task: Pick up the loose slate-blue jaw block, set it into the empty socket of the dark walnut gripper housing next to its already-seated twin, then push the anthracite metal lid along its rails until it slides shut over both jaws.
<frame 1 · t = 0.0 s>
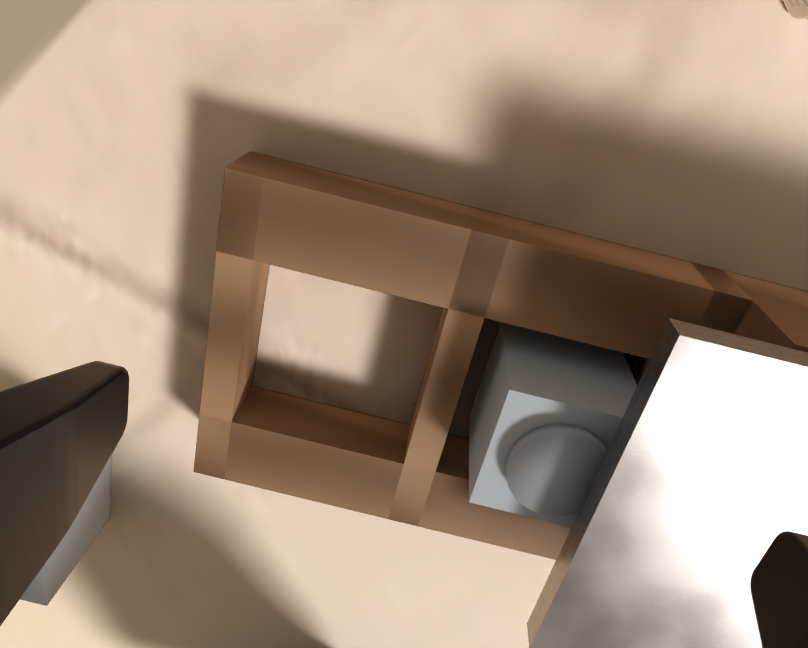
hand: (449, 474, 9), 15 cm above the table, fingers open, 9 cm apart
housing: (444, 360, 25), on the table
loose jaw: (62, 467, 29), on the table
seated jaw: (541, 383, 25), resting in housing
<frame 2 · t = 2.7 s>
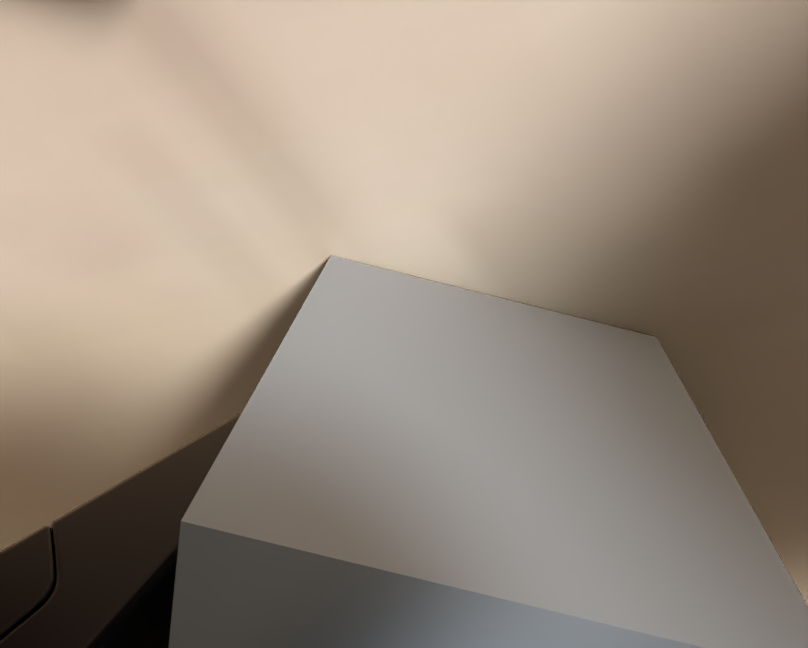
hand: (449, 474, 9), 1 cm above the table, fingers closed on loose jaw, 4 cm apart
loose jaw: (451, 430, 10), on the table, touching gripper
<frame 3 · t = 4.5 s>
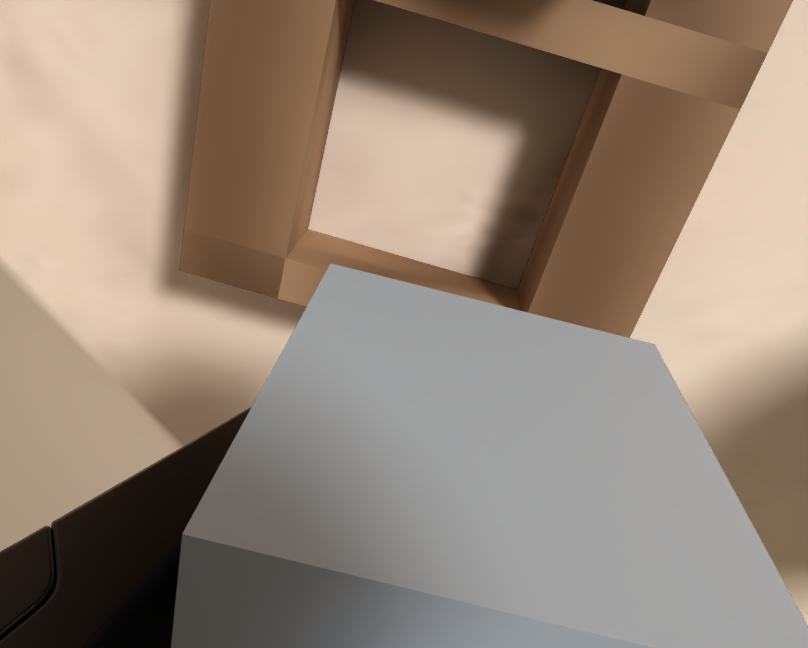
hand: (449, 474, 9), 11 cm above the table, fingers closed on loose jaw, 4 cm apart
housing: (487, 3, 16), on the table
loose jaw: (450, 436, 10), point 10 cm above the table, touching gripper
when the fingers open (3 cm above the table, at t = 6.2 s): loose jaw drops 3 cm, resting in housing.
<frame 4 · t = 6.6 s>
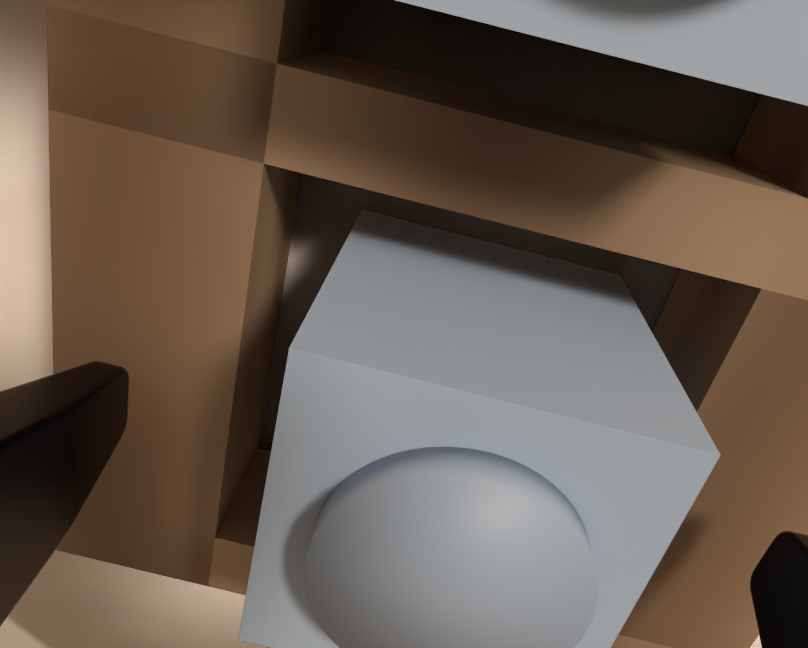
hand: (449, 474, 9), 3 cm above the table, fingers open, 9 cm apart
housing: (516, 142, 10), on the table
loose jaw: (456, 353, 12), resting in housing
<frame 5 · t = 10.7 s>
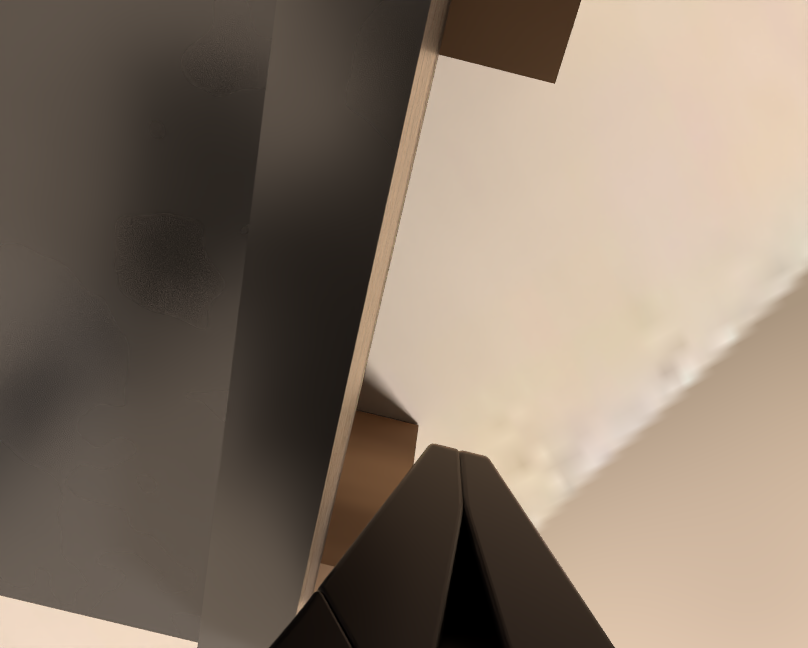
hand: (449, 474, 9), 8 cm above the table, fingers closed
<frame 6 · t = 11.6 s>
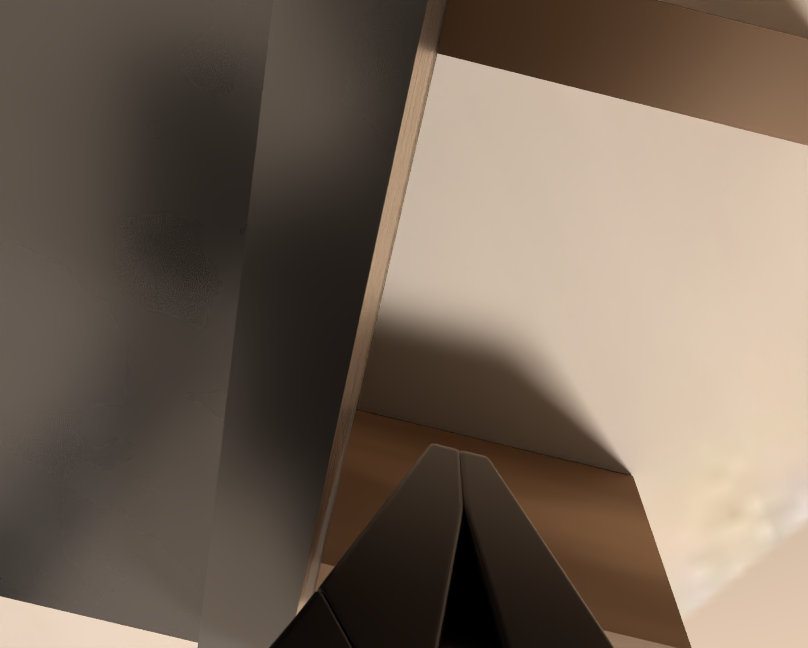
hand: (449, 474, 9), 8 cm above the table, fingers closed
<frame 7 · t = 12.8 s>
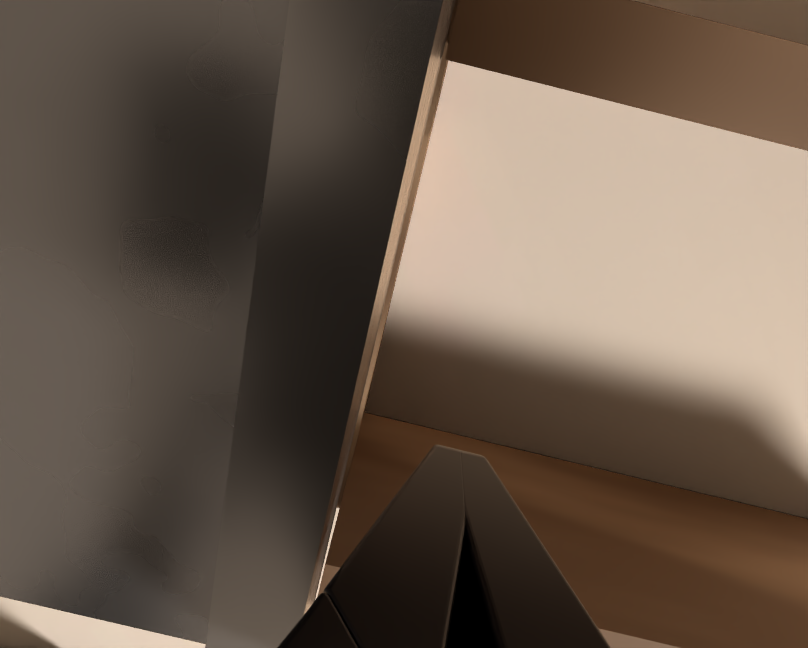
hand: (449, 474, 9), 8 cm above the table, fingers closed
housing: (63, 168, 16), on the table
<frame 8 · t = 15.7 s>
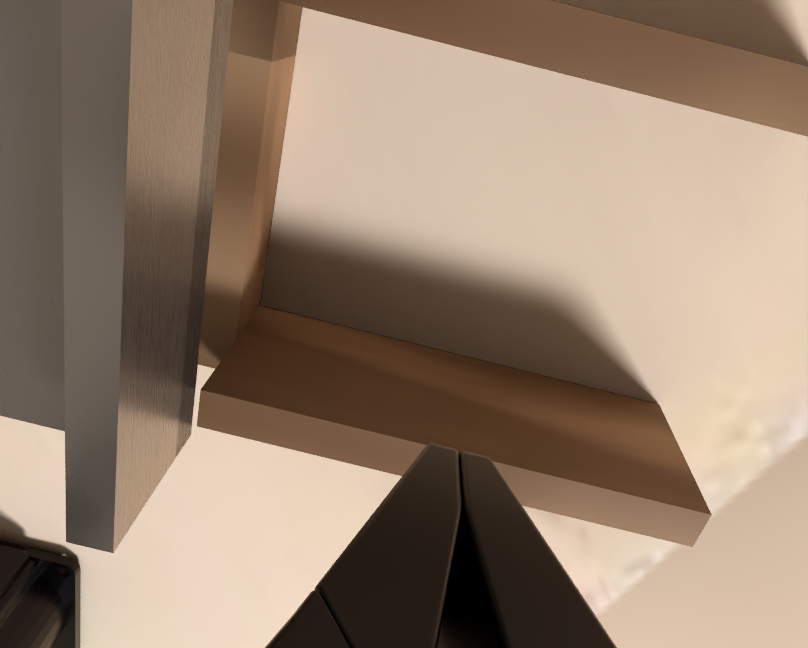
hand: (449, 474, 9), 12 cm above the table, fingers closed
housing: (12, 100, 20), on the table
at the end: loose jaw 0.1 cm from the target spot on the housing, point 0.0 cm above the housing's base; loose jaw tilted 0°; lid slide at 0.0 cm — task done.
